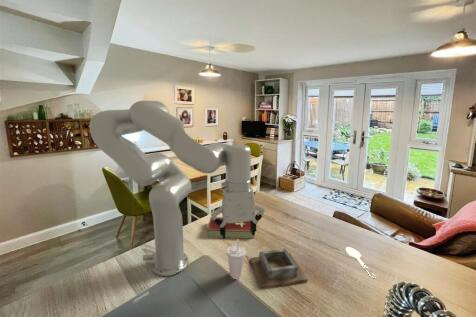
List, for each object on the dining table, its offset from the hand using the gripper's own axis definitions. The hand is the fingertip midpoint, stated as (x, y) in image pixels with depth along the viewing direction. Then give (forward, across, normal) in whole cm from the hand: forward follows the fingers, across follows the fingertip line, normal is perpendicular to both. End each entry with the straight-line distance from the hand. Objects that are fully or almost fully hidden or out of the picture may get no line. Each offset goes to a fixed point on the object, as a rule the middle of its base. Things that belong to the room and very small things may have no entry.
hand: (238, 235), depth 76 cm
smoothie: (+16, -1, 0) cm, 16 cm away
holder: (+16, +14, 0) cm, 21 cm away
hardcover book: (+16, +3, +29) cm, 33 cm away
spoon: (+17, +47, -1) cm, 50 cm away
